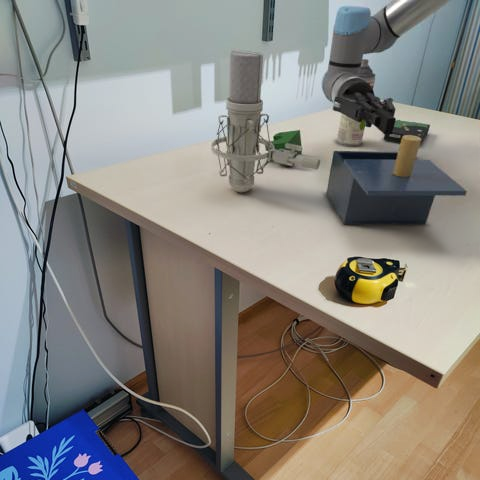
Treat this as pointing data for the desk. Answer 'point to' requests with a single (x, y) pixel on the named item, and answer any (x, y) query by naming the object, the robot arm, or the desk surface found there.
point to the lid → (403, 174)
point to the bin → (371, 196)
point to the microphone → (250, 125)
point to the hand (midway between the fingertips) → (390, 126)
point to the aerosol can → (349, 128)
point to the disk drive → (407, 131)
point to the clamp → (286, 141)
